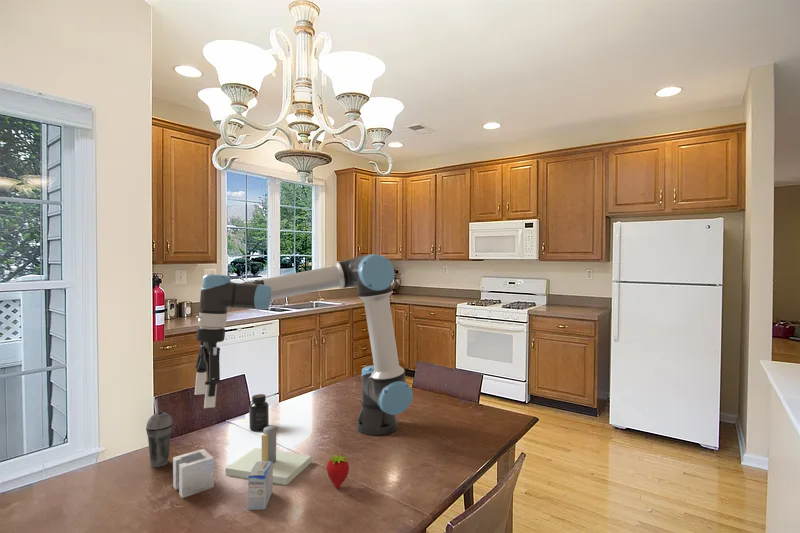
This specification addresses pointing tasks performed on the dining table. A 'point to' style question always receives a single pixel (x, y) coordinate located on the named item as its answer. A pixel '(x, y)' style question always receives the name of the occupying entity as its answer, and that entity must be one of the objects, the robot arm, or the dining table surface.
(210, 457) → the keyed collar
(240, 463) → the shaft stand
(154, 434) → the beverage cup
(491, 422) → the dining table surface
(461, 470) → the dining table surface
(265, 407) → the supplement bottle
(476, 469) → the dining table surface
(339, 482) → the strawberry
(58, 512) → the dining table surface
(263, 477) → the medicine box
